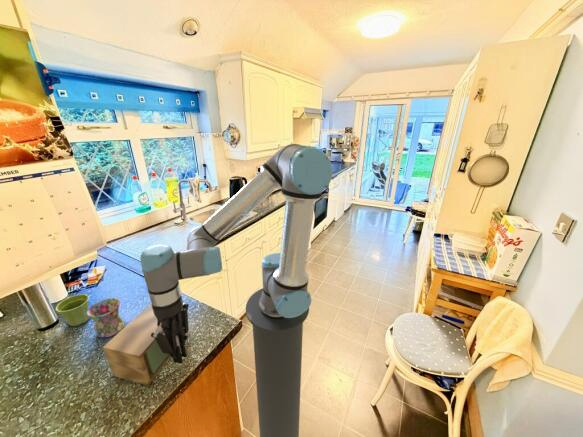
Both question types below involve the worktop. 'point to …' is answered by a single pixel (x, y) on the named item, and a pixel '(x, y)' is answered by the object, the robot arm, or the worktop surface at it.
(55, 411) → the worktop surface
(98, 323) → the mug
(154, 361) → the sliding door
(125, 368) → the cupboard
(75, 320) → the plant pot
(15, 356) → the worktop surface
